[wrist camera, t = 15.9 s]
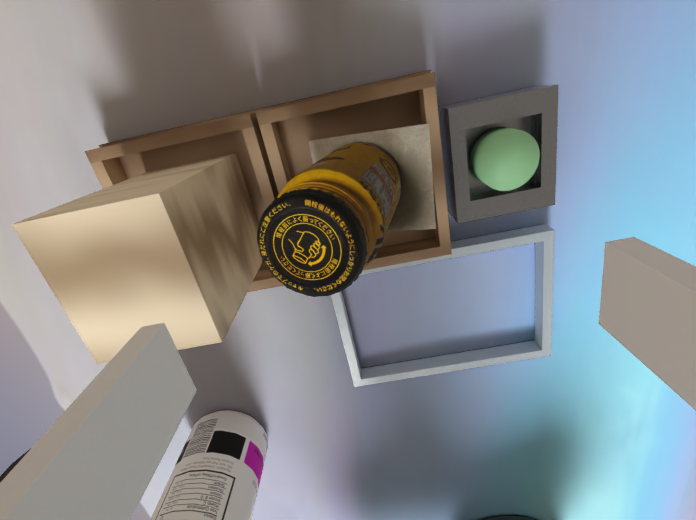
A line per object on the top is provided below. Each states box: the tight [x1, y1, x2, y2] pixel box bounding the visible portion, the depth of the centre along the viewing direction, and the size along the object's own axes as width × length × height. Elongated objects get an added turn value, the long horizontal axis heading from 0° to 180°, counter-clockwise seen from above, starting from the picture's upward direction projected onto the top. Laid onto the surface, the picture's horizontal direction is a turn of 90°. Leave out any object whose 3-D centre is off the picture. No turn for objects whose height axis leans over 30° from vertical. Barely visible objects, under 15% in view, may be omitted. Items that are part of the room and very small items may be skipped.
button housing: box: [438, 85, 558, 223], centre depth 27 cm, size 8×7×3 cm
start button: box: [470, 127, 540, 191], centre depth 25 cm, size 4×4×2 cm
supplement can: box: [151, 410, 268, 520], centre depth 33 cm, size 8×8×15 cm
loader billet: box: [12, 153, 262, 364], centre depth 23 cm, size 8×7×12 cm
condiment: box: [257, 124, 436, 297], centre depth 21 cm, size 7×8×12 cm
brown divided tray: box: [85, 70, 452, 292], centre depth 28 cm, size 13×24×3 cm, turn 102°
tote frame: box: [331, 224, 555, 387], centre depth 33 cm, size 13×19×2 cm
